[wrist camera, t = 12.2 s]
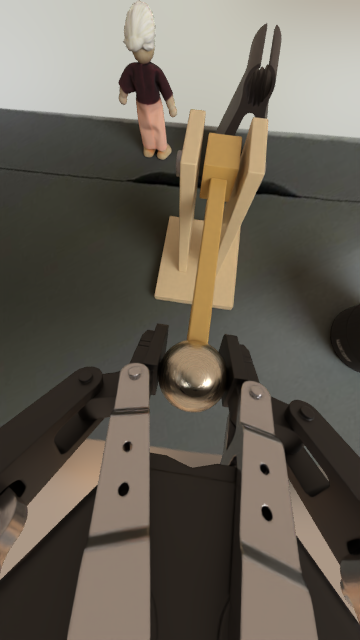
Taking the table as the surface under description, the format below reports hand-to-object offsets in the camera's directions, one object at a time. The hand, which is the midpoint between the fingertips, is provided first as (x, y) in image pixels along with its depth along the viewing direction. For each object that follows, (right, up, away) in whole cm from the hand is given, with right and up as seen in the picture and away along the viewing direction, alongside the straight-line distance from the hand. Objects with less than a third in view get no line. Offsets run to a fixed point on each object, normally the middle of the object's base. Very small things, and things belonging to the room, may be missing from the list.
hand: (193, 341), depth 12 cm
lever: (+1, +5, +1) cm, 5 cm away
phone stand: (+7, +25, +17) cm, 31 cm away
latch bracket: (+2, +9, +14) cm, 17 cm away
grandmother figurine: (-5, +29, +18) cm, 34 cm away
